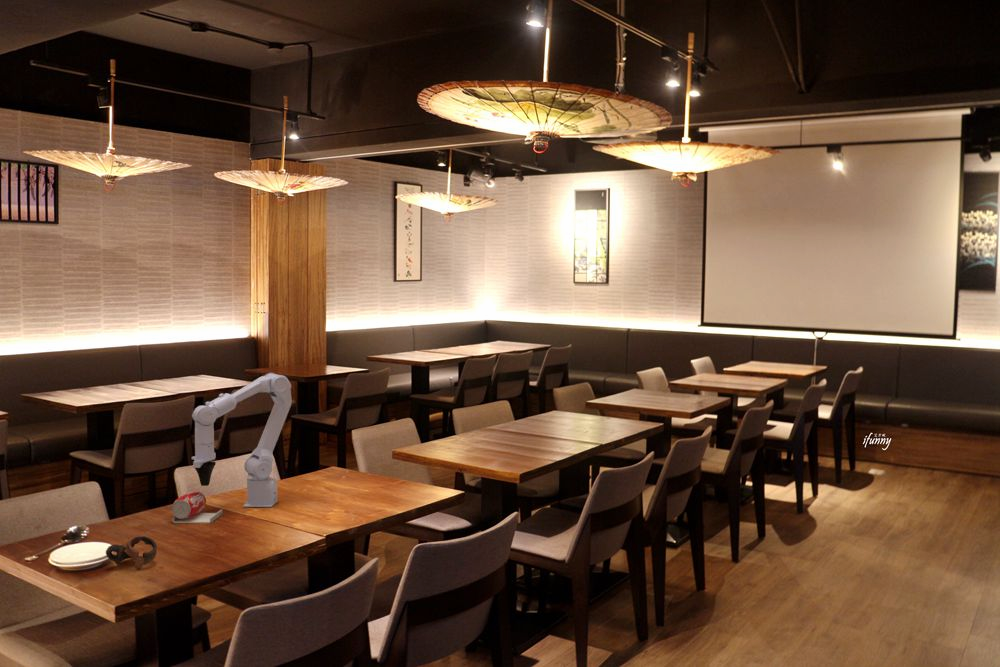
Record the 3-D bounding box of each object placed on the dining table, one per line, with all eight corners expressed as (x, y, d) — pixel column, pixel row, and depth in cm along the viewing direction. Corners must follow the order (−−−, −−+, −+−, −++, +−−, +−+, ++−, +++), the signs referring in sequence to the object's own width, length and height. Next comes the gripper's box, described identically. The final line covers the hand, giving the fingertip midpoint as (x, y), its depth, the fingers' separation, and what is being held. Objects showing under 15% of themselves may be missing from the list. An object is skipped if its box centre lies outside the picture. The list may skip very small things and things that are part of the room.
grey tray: (222, 514, 257) (222, 509, 257) (211, 523, 247) (211, 518, 247) (184, 514, 257) (184, 509, 257) (172, 523, 247) (172, 518, 247)
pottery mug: (147, 557, 217) (157, 533, 215) (151, 582, 210) (162, 558, 207) (99, 554, 210) (110, 529, 207) (102, 580, 202) (113, 555, 200)
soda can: (211, 504, 258) (196, 513, 246) (193, 515, 258) (177, 525, 246) (200, 485, 258) (184, 493, 246) (181, 497, 258) (165, 505, 246)
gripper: (200, 439, 264) (200, 479, 265) (183, 447, 250) (183, 490, 251) (221, 439, 264) (222, 480, 265) (206, 447, 250) (206, 490, 251)
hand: (205, 485), depth 258 cm, fingers closed
